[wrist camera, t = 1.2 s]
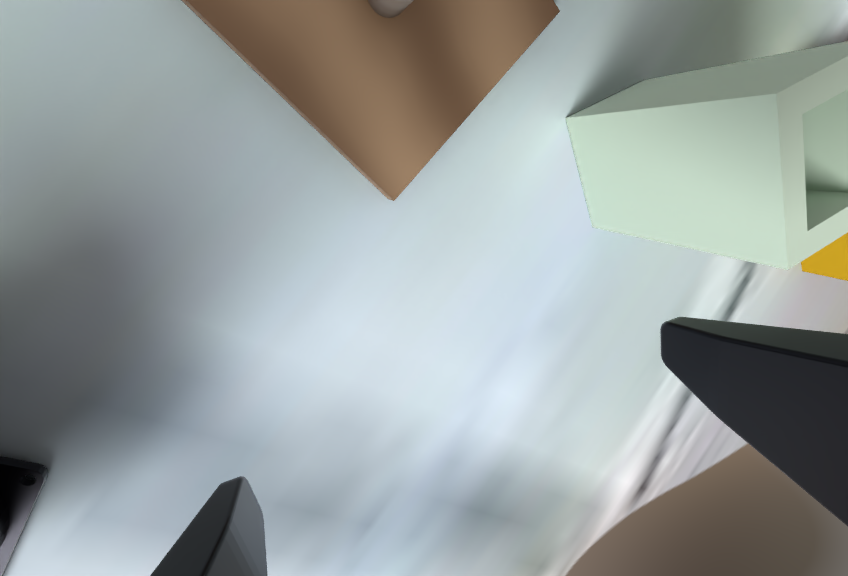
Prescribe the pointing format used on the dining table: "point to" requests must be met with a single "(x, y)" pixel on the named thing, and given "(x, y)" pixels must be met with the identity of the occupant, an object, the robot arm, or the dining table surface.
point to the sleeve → (724, 157)
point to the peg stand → (380, 67)
